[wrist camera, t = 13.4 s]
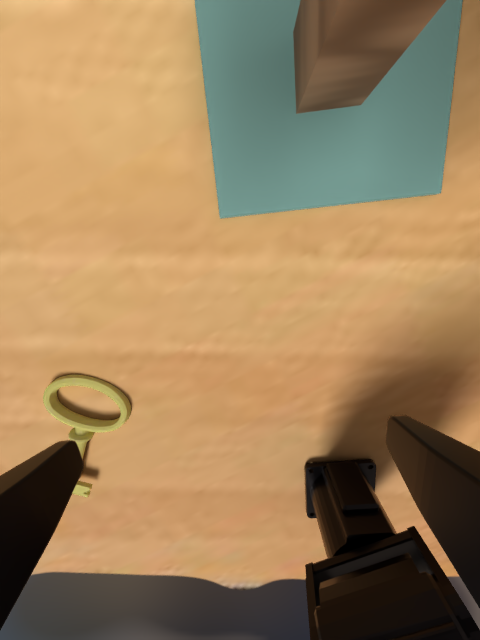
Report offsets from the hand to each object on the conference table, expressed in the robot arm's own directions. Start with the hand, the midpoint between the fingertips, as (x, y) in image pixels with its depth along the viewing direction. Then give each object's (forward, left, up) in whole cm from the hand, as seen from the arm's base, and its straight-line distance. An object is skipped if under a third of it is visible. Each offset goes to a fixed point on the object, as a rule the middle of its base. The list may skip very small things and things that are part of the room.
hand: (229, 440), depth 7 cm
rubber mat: (+15, -7, -13) cm, 21 cm away
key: (-9, +15, -14) cm, 23 cm away
